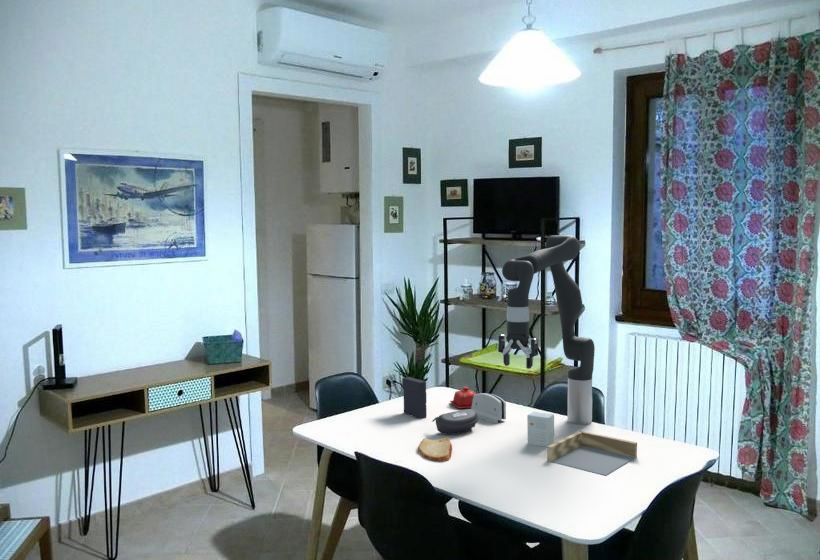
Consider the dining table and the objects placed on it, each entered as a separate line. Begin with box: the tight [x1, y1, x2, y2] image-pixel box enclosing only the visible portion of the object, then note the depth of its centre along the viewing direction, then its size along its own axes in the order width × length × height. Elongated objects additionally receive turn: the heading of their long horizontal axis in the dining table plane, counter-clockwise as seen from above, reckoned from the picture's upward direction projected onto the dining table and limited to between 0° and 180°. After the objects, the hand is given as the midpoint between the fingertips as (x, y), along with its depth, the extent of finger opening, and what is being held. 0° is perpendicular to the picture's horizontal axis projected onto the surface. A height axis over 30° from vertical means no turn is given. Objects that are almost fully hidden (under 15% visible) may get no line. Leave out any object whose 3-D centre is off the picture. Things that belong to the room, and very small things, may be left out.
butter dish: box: [449, 385, 477, 409], centre depth 293 cm, size 12×12×8 cm
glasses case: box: [431, 408, 479, 435], centre depth 256 cm, size 18×10×8 cm, turn 124°
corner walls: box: [546, 430, 638, 463], centre depth 225 cm, size 22×20×5 cm
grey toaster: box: [470, 392, 507, 424], centre depth 274 cm, size 17×5×10 cm, turn 38°
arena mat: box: [550, 446, 636, 477], centre depth 225 cm, size 21×19×1 cm
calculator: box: [401, 376, 428, 420], centre depth 278 cm, size 11×4×15 cm, turn 39°
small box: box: [526, 411, 555, 448], centre depth 242 cm, size 8×6×10 cm
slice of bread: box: [418, 436, 453, 463], centre depth 234 cm, size 18×18×4 cm
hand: (517, 366), depth 234 cm, fingers open, 8 cm apart
